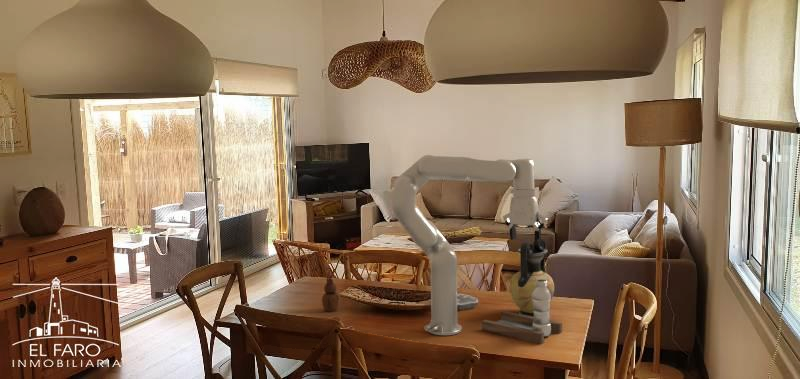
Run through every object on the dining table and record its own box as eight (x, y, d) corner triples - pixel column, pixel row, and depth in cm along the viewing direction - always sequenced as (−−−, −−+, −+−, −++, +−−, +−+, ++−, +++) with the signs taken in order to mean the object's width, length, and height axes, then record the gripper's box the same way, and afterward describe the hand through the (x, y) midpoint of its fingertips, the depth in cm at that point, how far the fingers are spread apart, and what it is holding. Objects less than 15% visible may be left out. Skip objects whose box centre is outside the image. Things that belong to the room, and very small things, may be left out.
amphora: (543, 324, 242) (543, 245, 239) (502, 316, 252) (502, 241, 249) (560, 312, 257) (561, 237, 253) (521, 305, 266) (521, 234, 263)
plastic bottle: (553, 338, 226) (553, 282, 224) (533, 338, 226) (533, 283, 224) (549, 332, 233) (549, 278, 230) (530, 332, 233) (530, 278, 230)
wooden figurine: (327, 313, 261) (326, 277, 259) (320, 310, 265) (318, 275, 264) (341, 310, 265) (340, 274, 263) (334, 307, 270) (332, 272, 268)
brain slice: (472, 299, 278) (472, 292, 278) (481, 310, 262) (481, 303, 261) (427, 301, 276) (427, 294, 276) (434, 313, 259) (434, 306, 259)
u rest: (541, 344, 221) (541, 334, 221) (482, 330, 237) (482, 321, 236) (562, 332, 233) (562, 322, 232) (504, 319, 248) (504, 310, 248)
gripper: (497, 193, 235) (499, 240, 237) (541, 195, 225) (542, 243, 227) (507, 191, 241) (509, 236, 243) (550, 192, 231) (552, 240, 232)
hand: (525, 240), depth 235 cm, fingers open, 9 cm apart
